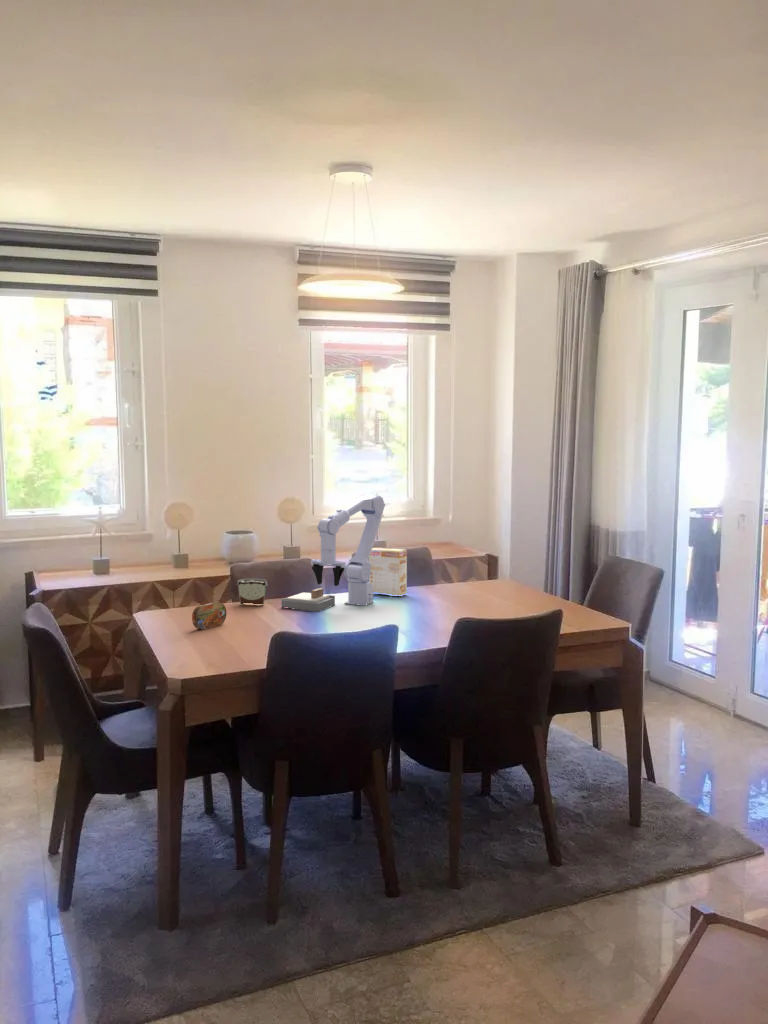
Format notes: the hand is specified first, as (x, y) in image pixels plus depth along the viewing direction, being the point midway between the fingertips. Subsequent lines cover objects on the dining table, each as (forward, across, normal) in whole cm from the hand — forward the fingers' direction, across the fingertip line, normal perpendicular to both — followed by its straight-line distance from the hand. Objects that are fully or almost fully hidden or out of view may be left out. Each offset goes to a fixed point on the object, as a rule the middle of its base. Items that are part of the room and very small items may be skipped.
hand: (328, 584), depth 334 cm
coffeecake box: (+10, +6, +39) cm, 41 cm away
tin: (+10, -20, -47) cm, 52 cm away
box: (+10, -9, 0) cm, 13 cm away
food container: (+10, -31, -6) cm, 33 cm away
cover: (+6, -9, 0) cm, 11 cm away
